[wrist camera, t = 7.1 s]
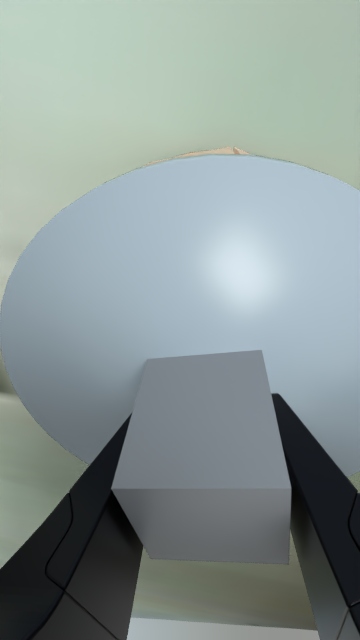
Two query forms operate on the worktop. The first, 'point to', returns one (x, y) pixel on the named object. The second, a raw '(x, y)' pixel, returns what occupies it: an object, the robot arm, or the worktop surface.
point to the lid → (195, 341)
